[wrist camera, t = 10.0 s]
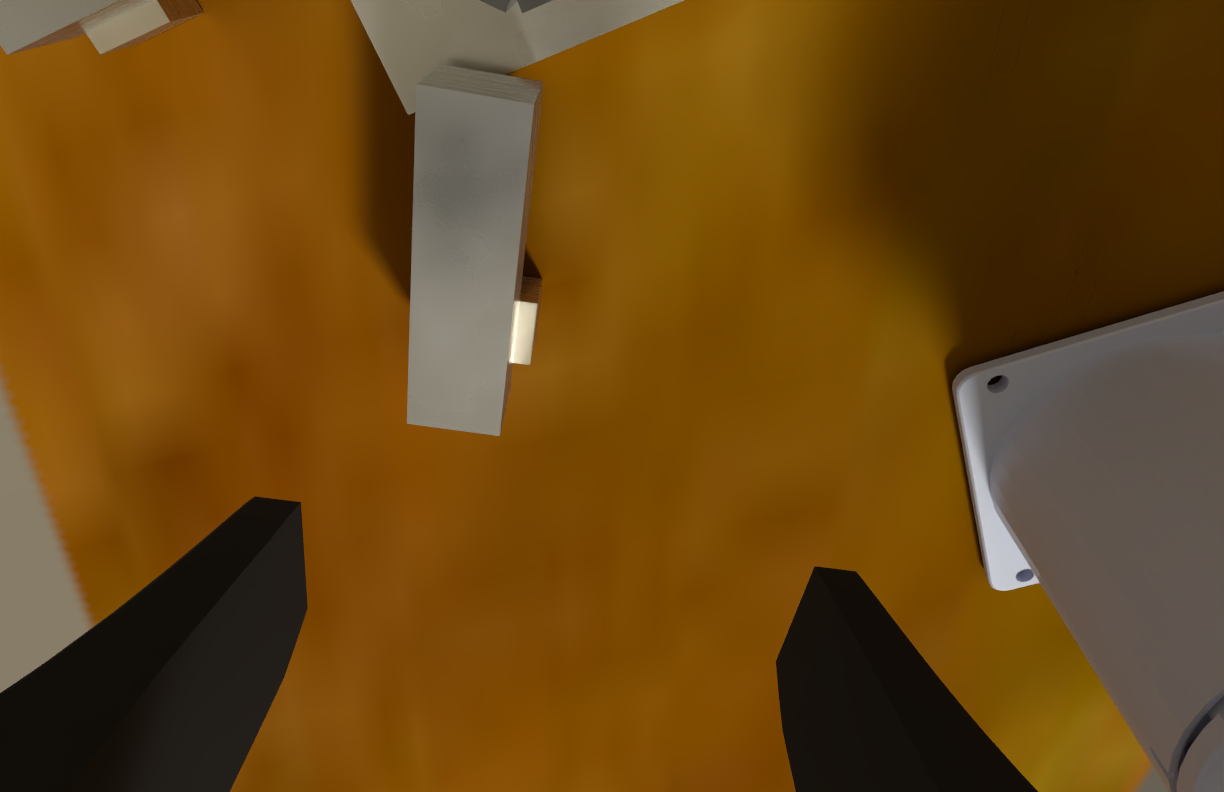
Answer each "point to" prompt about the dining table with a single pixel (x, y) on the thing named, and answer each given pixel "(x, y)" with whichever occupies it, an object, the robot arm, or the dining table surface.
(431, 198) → the coupling socket
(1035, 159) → the dining table surface
